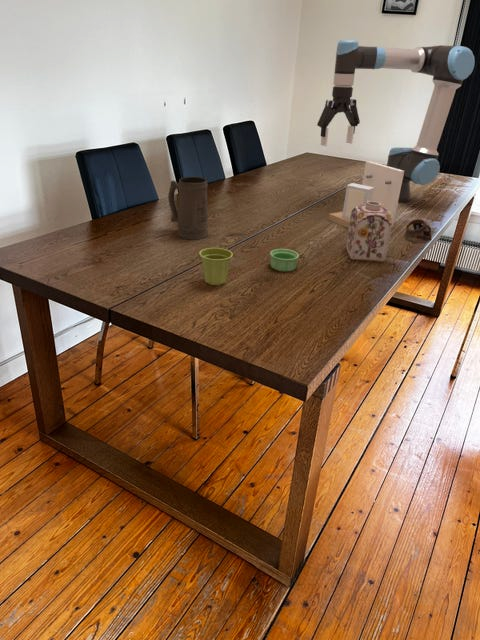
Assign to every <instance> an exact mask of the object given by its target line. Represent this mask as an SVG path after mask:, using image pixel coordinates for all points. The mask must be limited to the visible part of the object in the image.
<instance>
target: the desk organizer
mask: <svg viewBox="0 0 480 640" xmlns="http://www.w3.org/2000/svg"><path fill="white" fill-rule="evenodd" d="M403 175H404V171H403V170H399V169H396V168H392V167H389V166H387V165H385V164H381V163H379V162H377V163H376V162H375V161H370V160H369V161H365V166H364V171H363V177H362V183H361V185H365V186H370V187H374V192H373V197H372V201H375V202H379V203H381V206H382V207H384V208H387V209H389V211H390V212H391V218H392V228H393V227H394V223H395V219H396V218H395V217H396V214H397V210H398V204H399V202H398V200H399V195H400V190H401V185H402V180H403ZM342 214H343V211H338V212H332V213H329V214H328V221H331V222H333V223H335V224H337V225H339V226H342V227H344V228H347V229H349V223H350V220H347V219H343V218H342Z"/></svg>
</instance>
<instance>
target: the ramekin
mask: <svg viewBox="0 0 480 640" xmlns="http://www.w3.org/2000/svg"><path fill="white" fill-rule="evenodd" d="M269 254H270V255H269V256H270V267H271V268H272V269H274V270H276V271H279V272H291V271H292V272H293V271H295V269H296V267H297V263H298V260H299V256H300V254H299V253H298V252H296V251H295V250H293V249H288V248H276V249H272V250H271V251H270V252H269Z"/></svg>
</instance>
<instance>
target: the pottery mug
mask: <svg viewBox="0 0 480 640" xmlns="http://www.w3.org/2000/svg"><path fill="white" fill-rule="evenodd" d="M411 226H412V227H413V229H410V227H411ZM418 236H422V237H429V241H432V236H433V235H432V227H431V225H430V224H428V223H427V222H426V220H425V219H423V218H415V219H413V220H410V221H409V222H408V223H407V224H406V229H405V231H404V237H405V238H407V237H412V238H414V237H418Z"/></svg>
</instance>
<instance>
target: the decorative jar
mask: <svg viewBox="0 0 480 640" xmlns="http://www.w3.org/2000/svg"><path fill="white" fill-rule="evenodd" d="M392 228H393V227H392V218H391V212H390V211H389V209H387V208H384V207H382V206H381V203H379V202H375V201H368V202H367V203H366V205H358V206H356V207H355V208H354V209H353V210H352V212H351V217H350V223H349V228H347V229H348V230H347V237H346V244H345V248H346V249H345V250H346V251H347V253H348V255H349V258H350V260H352V261H353V260H354V261H369V262H385V261H386V259H387V254H388V248H389V244H390V243H389V242H390V237H391V231H392Z"/></svg>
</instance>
